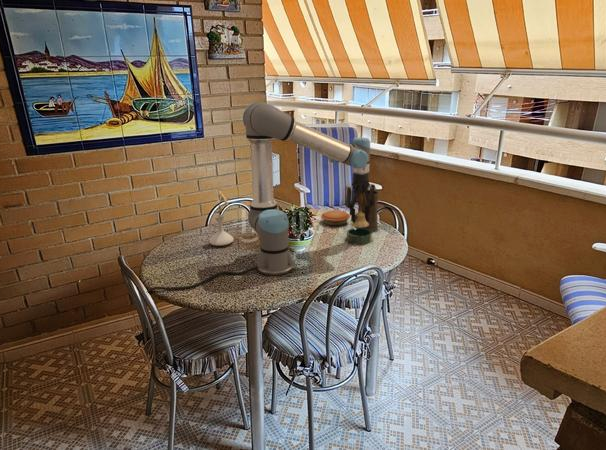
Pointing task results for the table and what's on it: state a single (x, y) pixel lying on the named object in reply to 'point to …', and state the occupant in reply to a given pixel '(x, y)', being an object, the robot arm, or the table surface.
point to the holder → (359, 236)
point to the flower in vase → (221, 228)
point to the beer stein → (371, 213)
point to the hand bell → (360, 214)
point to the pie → (335, 217)
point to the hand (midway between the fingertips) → (359, 220)
